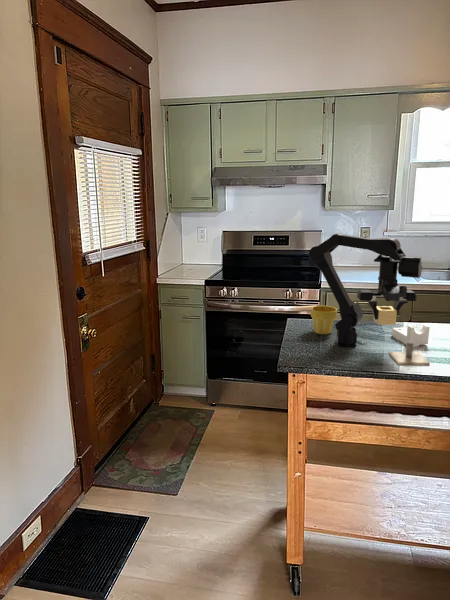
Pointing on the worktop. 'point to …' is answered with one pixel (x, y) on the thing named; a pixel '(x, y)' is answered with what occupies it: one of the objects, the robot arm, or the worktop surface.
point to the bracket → (411, 335)
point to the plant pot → (323, 318)
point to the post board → (407, 360)
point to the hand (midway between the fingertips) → (384, 319)
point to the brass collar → (386, 315)
